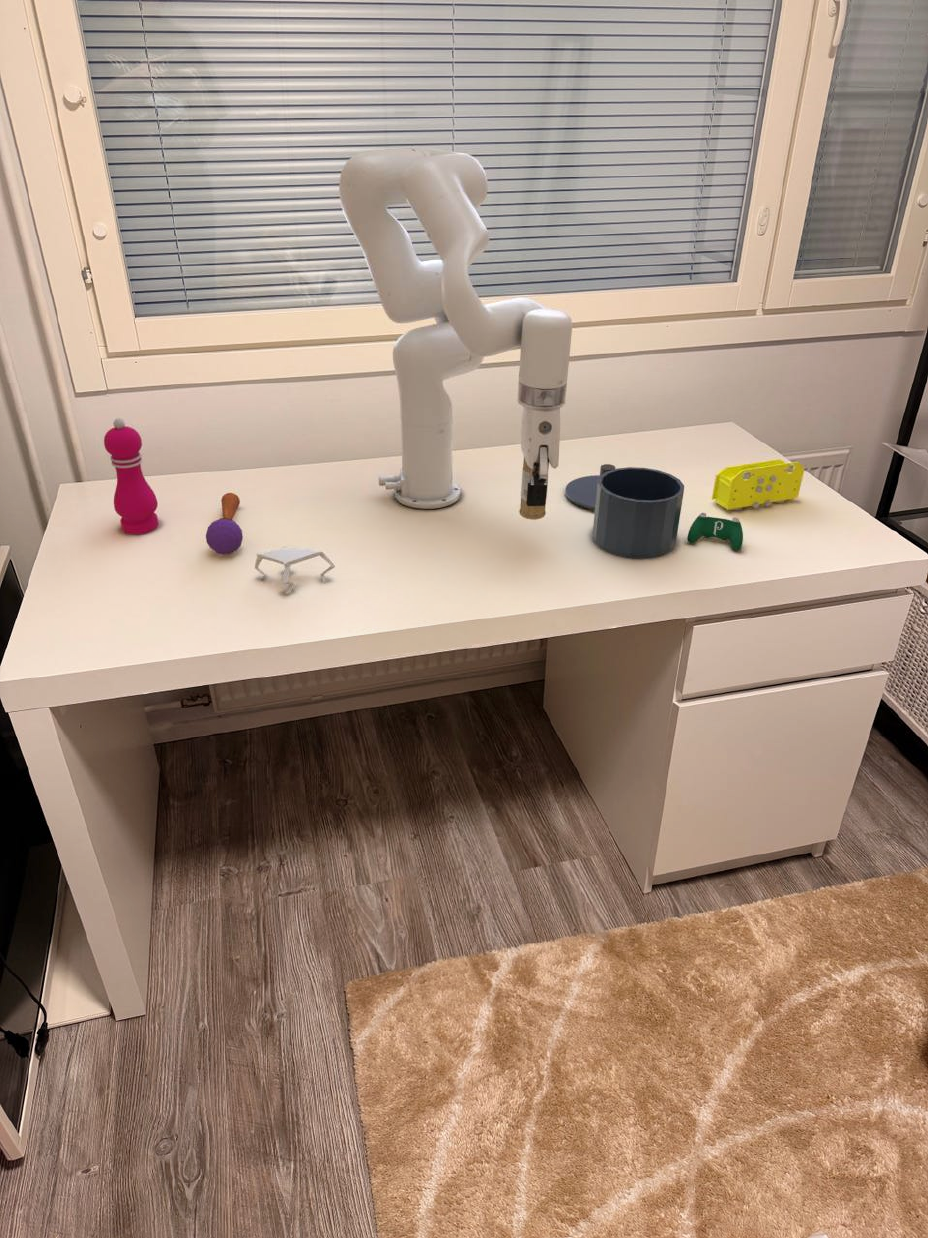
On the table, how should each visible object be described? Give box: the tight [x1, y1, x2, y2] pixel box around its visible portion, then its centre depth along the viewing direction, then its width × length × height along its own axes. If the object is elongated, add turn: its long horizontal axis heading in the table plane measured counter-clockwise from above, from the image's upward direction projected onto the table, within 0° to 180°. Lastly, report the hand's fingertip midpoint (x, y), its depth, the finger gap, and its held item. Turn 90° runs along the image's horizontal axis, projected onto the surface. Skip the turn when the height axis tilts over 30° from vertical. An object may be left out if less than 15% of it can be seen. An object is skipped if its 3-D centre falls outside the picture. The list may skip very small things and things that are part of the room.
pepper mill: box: [103, 417, 160, 535], centre depth 152 cm, size 7×7×20 cm
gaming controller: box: [686, 512, 744, 552], centre depth 154 cm, size 9×4×6 cm
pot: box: [592, 466, 685, 559], centre depth 152 cm, size 14×15×10 cm
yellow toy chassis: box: [711, 458, 805, 511], centre depth 166 cm, size 16×6×8 cm, turn 110°
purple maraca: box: [205, 492, 244, 555], centre depth 154 cm, size 6×6×20 cm
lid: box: [564, 463, 616, 510], centre depth 168 cm, size 15×15×6 cm
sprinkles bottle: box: [518, 449, 550, 521], centre depth 146 cm, size 5×5×13 cm
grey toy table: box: [254, 546, 336, 595], centre depth 140 cm, size 12×8×5 cm
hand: (533, 497), depth 148 cm, fingers closed on sprinkles bottle, 4 cm apart
